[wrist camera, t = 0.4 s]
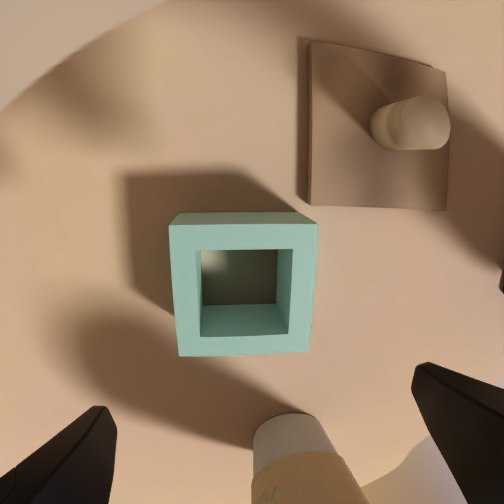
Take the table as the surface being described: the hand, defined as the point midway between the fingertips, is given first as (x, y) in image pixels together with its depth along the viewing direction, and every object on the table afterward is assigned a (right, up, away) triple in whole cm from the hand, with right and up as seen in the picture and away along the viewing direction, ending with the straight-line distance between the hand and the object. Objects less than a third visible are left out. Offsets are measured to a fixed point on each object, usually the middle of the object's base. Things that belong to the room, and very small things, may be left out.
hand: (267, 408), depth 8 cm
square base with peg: (+8, +12, +10) cm, 18 cm away
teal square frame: (-1, +3, +12) cm, 12 cm away
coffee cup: (+3, -11, +16) cm, 20 cm away
